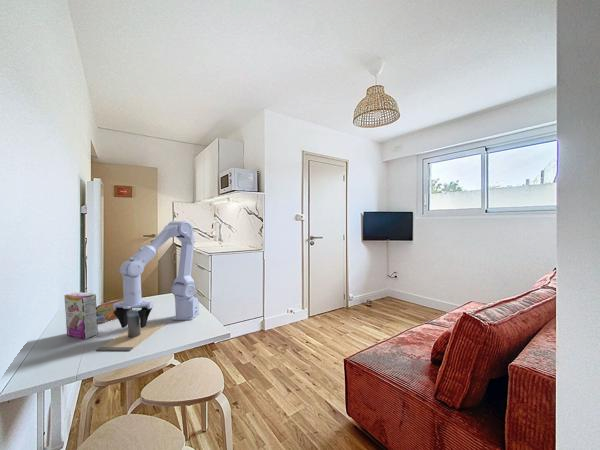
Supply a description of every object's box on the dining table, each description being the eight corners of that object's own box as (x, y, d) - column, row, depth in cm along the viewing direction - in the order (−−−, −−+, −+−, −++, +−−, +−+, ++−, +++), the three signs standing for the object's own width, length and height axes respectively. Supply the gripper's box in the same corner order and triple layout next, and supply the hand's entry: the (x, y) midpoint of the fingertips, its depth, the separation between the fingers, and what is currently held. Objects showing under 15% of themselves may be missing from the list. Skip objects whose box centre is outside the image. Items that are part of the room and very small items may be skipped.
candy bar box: (65, 336, 98) (63, 294, 98) (80, 330, 103) (78, 291, 102) (84, 340, 95) (82, 297, 94) (98, 334, 99) (96, 293, 99)
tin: (95, 325, 108) (94, 306, 107) (92, 324, 109) (91, 305, 109) (133, 313, 120) (133, 296, 120) (130, 312, 122) (129, 295, 122)
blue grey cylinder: (143, 332, 99) (142, 309, 98) (135, 337, 95) (134, 313, 94) (132, 332, 99) (131, 309, 99) (125, 338, 95) (124, 313, 94)
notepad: (165, 324, 107) (165, 323, 107) (129, 350, 86) (129, 349, 86) (138, 324, 108) (138, 323, 108) (96, 350, 87) (96, 349, 87)
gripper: (105, 295, 93) (107, 331, 93) (143, 295, 92) (145, 331, 92) (120, 289, 100) (121, 323, 100) (155, 289, 99) (157, 323, 99)
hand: (134, 326), depth 97 cm, fingers open, 7 cm apart
